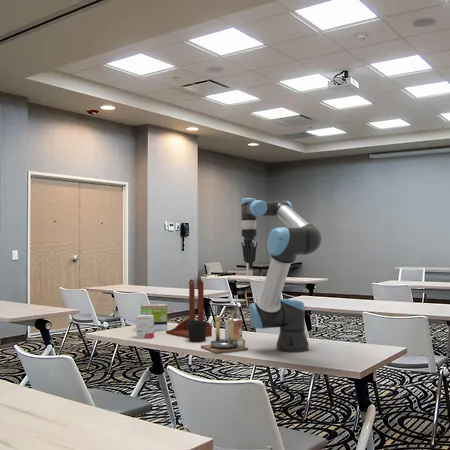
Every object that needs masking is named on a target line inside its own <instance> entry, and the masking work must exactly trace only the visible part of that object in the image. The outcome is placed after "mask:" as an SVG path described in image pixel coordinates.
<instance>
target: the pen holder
mask: <svg viewBox="0 0 450 450" xmlns="http://www.w3.org/2000/svg"><path fill="white" fill-rule="evenodd" d="M206 322H207V321H206V320H204V322H201V321H199V320H198V319H195V320H191V321H188V333H189V338H188V341H189V342H191V343H202V342H205V341H206V340H207V337H206Z"/></svg>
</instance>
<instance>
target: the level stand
mask: <svg viewBox="0 0 450 450" xmlns="http://www.w3.org/2000/svg"><path fill="white" fill-rule="evenodd" d="M200 349H203V350H205V351H208V352H210V353H213V354H216V355H219V354H220V355H221V354H222V355H223V354H230V353H237V352H245V351H246V352H247V351H249V347H246V339H245V338H243V336H242V337H241V338H239V340H238V346H237V347H234V348H213V347H211V344H205V345H200Z"/></svg>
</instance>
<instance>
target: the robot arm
mask: <svg viewBox="0 0 450 450" xmlns="http://www.w3.org/2000/svg"><path fill="white" fill-rule="evenodd" d="M240 209H241V211H240V212H241V221H240V222H241V223H240V224H241V227H240V228H241V237H242V238H243V242H241V243H240V245H241V248H242V258H243V262H245V263H246V268H245V269H246V277H253V276H254V275H253V274H254V272H253V265H254V264H253V263H254V262H256V255H257V246H258V242H256V241H255V238H256V237H257V217H277V218H278V219H279V220H280V221H281V222H282V224H284V225H285V226H282V227H275V228H273V229H272V230H271V231H270V232H269V234H268V237H267V241H266V242H267V244H266V249H267V252H268V253H269V256H270V258H271V260H270V262H269V266H268V270H267V273H266V276H265V280H264V284H263V287H262V291H261V294H260V295H259V296H258V297H257V298H256V299H255V303H254V302H253V303H250V304H249V306H248V315H249V320H250V321H249V322H250V323H251V326H252V327H253V328H254V329H260V330H261V329H271V328H272V329H275V328H279V334H278V338H277V340H276V341H277V342H276V347H275V348H276V350H278V351H280V352H291V353H294V352H295V353H296V352H305V351H308V350H309V348H310V345H309V340H308V338H307V336H306V332H305V331H306V330H305V326H306V325H305V323H306V322H305V311H306V310H305V304H304V302H303V301H302V300H297V299H289V298H288V299H287V298H281V297H282V293H283V290H284V286H285V284H286V279H287V278H288V277H287V276H288V273H289V271H290V268H291V264H294V263H295V261H296V260H297V257H298V255H299V256H302V255H304V256H306V255H311V254H313V253H314V252H316V251H317V250H318V249H319V248H320V246H321V244H322V234H321V231H320V230H319V229H318V228H317V227H316V226H315V225H314V224H312V223H308V222H307V221H306V220H305V219H304V218H303V217H302V216H300V215H299V214H298V213H297V212H296V211H295V210H294V206H293V203H292V202H291V201H288V200H287V201H286V200H261V199H259V200H258V199H256V198H253V197H246V198H242V199H241V202H240Z"/></svg>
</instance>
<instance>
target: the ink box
mask: <svg viewBox="0 0 450 450" xmlns="http://www.w3.org/2000/svg"><path fill="white" fill-rule="evenodd" d="M135 326H136V328H135V329H136V330H135V331H136V339H153V338H154V337H155V331H154V315H141V314H138V315H136V316H135Z"/></svg>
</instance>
